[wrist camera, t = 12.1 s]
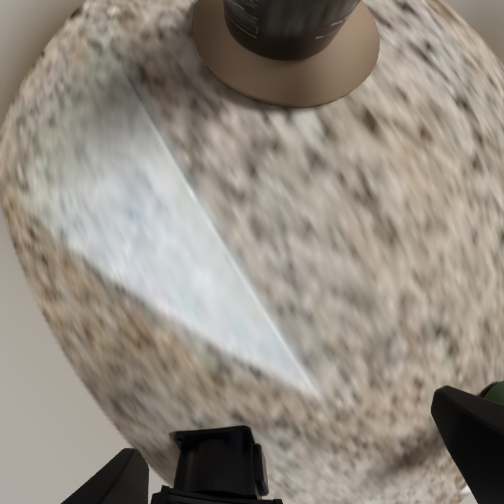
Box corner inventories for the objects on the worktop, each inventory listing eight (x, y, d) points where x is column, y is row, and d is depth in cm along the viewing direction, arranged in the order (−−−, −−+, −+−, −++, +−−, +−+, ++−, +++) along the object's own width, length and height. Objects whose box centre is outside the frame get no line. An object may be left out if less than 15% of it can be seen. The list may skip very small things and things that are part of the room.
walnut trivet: (209, 122, 16) (208, 118, 15) (185, -20, 14) (183, -27, 13) (392, 102, 16) (400, 99, 15) (345, -29, 14) (348, -36, 13)
